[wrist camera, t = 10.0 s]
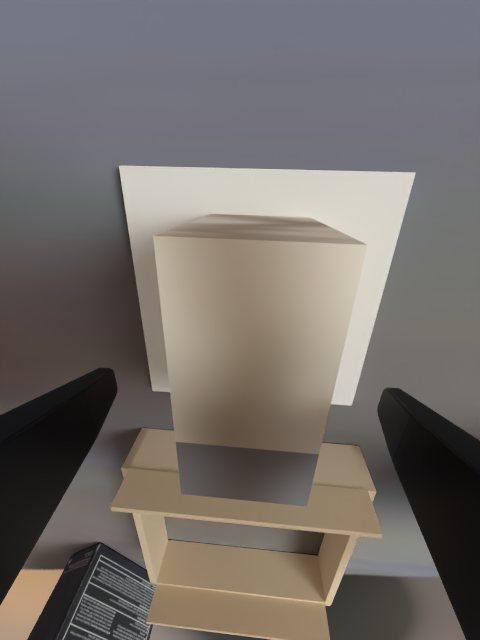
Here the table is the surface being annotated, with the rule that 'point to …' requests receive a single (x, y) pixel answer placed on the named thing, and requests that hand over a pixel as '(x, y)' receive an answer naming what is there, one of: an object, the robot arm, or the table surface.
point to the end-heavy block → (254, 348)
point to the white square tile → (267, 200)
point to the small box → (97, 600)
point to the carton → (245, 563)
